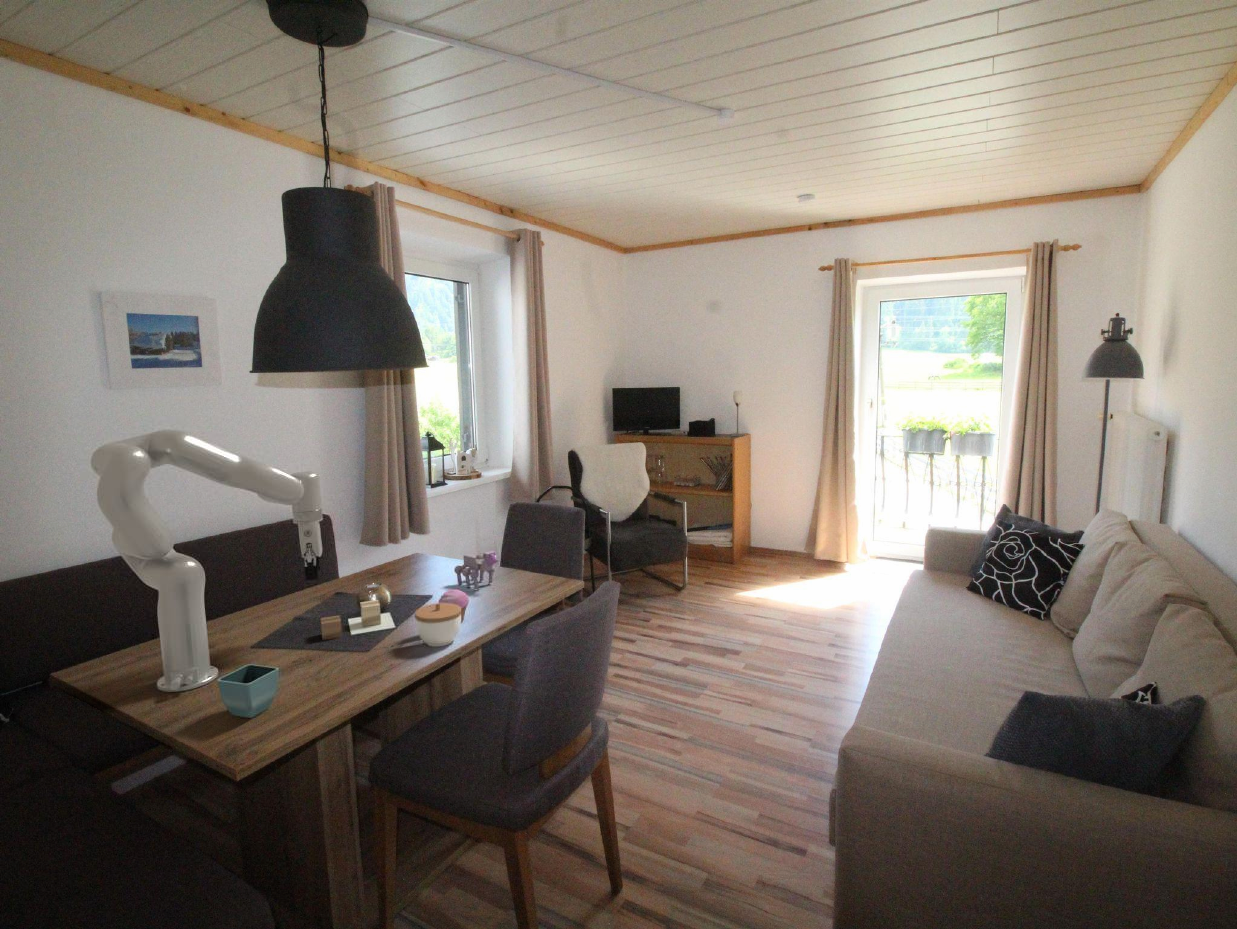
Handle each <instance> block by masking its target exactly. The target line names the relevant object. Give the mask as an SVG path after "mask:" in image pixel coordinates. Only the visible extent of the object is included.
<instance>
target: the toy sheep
mask: <svg viewBox="0 0 1237 929" xmlns="http://www.w3.org/2000/svg"><path fill="white" fill-rule="evenodd" d="M498 562H500V560H499V558H497V552H496V551H495V550H493V549H492V550H489V551H485V552H483V553H478V554H475V553H471V552H470V553H468V554H463V564H462V565H456V566H455V567H454V573H455V574H456V577H457V585H458V584H459V585H458V586H461V585H460V584H462V585H463V581H462V575H463V577H465V585H466V588H467V587H470V586H471V581H470V580H471V579H473V580H472V581H473V585H474V586H473V588H474V590H475V589H480V588H479V582H480V581H483V582H484V579H485V578H484V574H485V572H487V573H488V574H489V575H488V584H489V583H493V580H494V573H495V572H496V567H495V566H494V564H496V563H498ZM461 574H462V575H461ZM470 578H471V579H470ZM478 578H479V581H478ZM493 584H494V583H493ZM470 588H471V587H470Z"/></svg>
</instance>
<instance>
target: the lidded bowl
mask: <svg viewBox="0 0 1237 929" xmlns="http://www.w3.org/2000/svg"><path fill="white" fill-rule="evenodd" d="M414 619H415V621H414V622H415V627H416V631H417V634H418V636H419V638H420V639H421V641H423V642H424V643H426V644H425V645H427V646H429V647H433V648H434V647H435V648H437V647H444V646H448V645H450V644H452V643H453V641H454V639H455V638H456V637H457V635H458V634H459V632H460V629H461V625H462V621H461V607H460V606H459V605H456V604H451V603H438V602H436V603H431V604H427V605H424V606H422V607H419V608H418V609H416V610H415V611H414Z"/></svg>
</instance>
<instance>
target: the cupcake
mask: <svg viewBox="0 0 1237 929" xmlns="http://www.w3.org/2000/svg"><path fill="white" fill-rule="evenodd" d="M437 603H451V604H456V605H459V606H460V607H461V622H463V621H464V619H465V615H466V610H467V608H468V606H469V603H470V599H469V596H468V594H467V593H466V592H464V591H462V590H460V589H449V590H446V591H445V592H444V593H443V594H442V595H441V596H440V598H439V599H438V602H437Z"/></svg>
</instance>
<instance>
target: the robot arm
mask: <svg viewBox="0 0 1237 929" xmlns="http://www.w3.org/2000/svg"><path fill="white" fill-rule="evenodd" d="M164 465H171V466H174V467H177V468H179V469H181V470H185V471H187V472H189V473H192V474H195V475H198V476H199V477H203V478H205V479H207V480H209V481H212V482H215V483H217V484H220V485H223V486H227V487H231V488H236V489H241V490H245V491H248V492H252V493H255V494H257V497H258V498H260V499H261V500H262V501H264V502H267V503H273V504H279V505H282V506H291V511H292V521H293V522H292V523H293V524H294V525H295V524H297V526H298V535H299V537H298V538H299V545H300V546H299V547H300V552H301V558H303V559H304V566H303V567H304V577H305V581H314V580H318V579H319V570H320V569H321V565H320V564H321V563H320V557H322V555H323V543H322V542H323V541H322V533H321V531H322V530H321V525H320V522H321V521H323V520H324V517H323V516H324V515H323V509H322V497H321V494H322V493H321V484H320V476H319V474H318V472H315V471H299V472H294V473H292V474H288V473H286V472H284V471H282V470H279V469H276V468H274V467H272V466H270V465H267V464H265V463H262V462H258V461H257V460H253V459H252V458H250V457H247V456H245V455H242V454H239V453H237V452H235V451H233V450H230V449H227V448H225V447H222V446H221V445H218V444H216V443H213V442H211V441H209V440H207V439H205V438H202V437H200V436H198V435H196V434H194V433H191V432H188V431H184V430H179V429H161V430H156V431H152V432H148V433H145V434H141V435H138V436H137V435H136V436H134V437H130V438H125V439H121V440H116V441H113V442H110V443H106V444H104V445H101V446H100V447H98V448H96V449H95V451H94V452H93V453H92V454H91V456H90V467H91V468H92V471H93V472H95V475H97V476H99V479H98V482H97V483H98V484H97V490H96V499H97V504H98V507H99V509H100V510H101V513H102V514H103V516H104V518H106V519H107V521H108V522H109V523H110V525H111V528H113V529H112V533H111V542H112V545H113V547H114V548H115V550H116V552H118V554H119V555H120V556H121V557H122V559H123V560H124V561H125V563H126V564H127V565H128V566H129V568H130V569H131V570H132V571H133V572H134V573H135V574H136V576H137V577H138V578H139V579H140V580H141V582H143V583H144V584H145V585H147V586H148V587H151V588H152V589H155V590H156V591H158V601H157V623H158V624H157V625H158V630H159V631H158V632H159V638H160V639H159V640H160V650H161V660H162V667H163V668H162V669H163V676H162V677H159V679H158V680H157V682H156V687H157V689H158V690H159V691H162V692H165V693H166V692H167V693H173V692H175V693H176V692H177V693H178V692H182V691H188V690H189V691H190V690H193V689H196V688H199V687H203V686H205V685H207V684H209V683H211V682H213V681H214V680H215V679H216V678H217V677H218V676H219V669H218V668H217V667H215V666H213V665H211V660H210V649H209V640H208V629H207V618H206V609H205V608H206V607H205V586H206V573H205V570H204V567H203V565H202V564H201V563H200V562H199V560H197V559H196V558H194V557H192V556H189V555H186V554H183V553H180V552H177V551H175V549H174V545H175V536H174V533H173V531H172V530H171V528H170V527H169V526H168V525H167V524H166V522H165V521H164V520H163V519H162V517H161V516H160V515H159V513H158V512H157V511H156V509H155V508H154V506H152V504H151V502H150V501H149V499H148V498H147V496H146V494H145V490H144V489H145V488H144V485H145V482H146V479H147V478H148V475H149V473H150V471H151V469H155V468H158V467H161V466H164Z"/></svg>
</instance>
